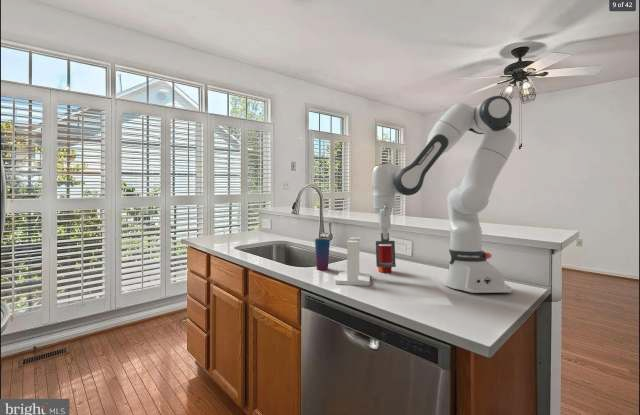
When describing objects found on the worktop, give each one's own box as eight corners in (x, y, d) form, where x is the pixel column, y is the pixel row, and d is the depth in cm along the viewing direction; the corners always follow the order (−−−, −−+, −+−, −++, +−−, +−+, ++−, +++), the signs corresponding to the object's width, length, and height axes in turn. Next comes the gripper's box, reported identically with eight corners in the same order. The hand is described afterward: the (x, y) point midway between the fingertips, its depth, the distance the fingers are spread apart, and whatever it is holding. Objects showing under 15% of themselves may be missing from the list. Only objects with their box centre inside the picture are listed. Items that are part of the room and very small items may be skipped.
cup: (328, 273, 145) (328, 240, 145) (313, 273, 146) (313, 239, 146) (330, 270, 152) (331, 238, 152) (316, 270, 153) (316, 238, 153)
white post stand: (369, 276, 140) (370, 237, 140) (369, 285, 124) (369, 242, 124) (339, 275, 142) (339, 237, 142) (335, 284, 126) (335, 241, 126)
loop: (395, 265, 132) (393, 232, 132) (395, 266, 128) (394, 233, 128) (376, 265, 133) (375, 232, 133) (376, 266, 129) (375, 233, 129)
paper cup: (395, 272, 148) (395, 241, 148) (390, 275, 141) (390, 243, 141) (379, 270, 152) (379, 240, 152) (373, 273, 145) (373, 242, 145)
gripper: (393, 203, 120) (395, 241, 120) (390, 203, 140) (391, 236, 140) (376, 204, 121) (377, 241, 121) (375, 204, 141) (376, 236, 141)
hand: (385, 238), depth 131 cm, fingers closed on loop, 2 cm apart
